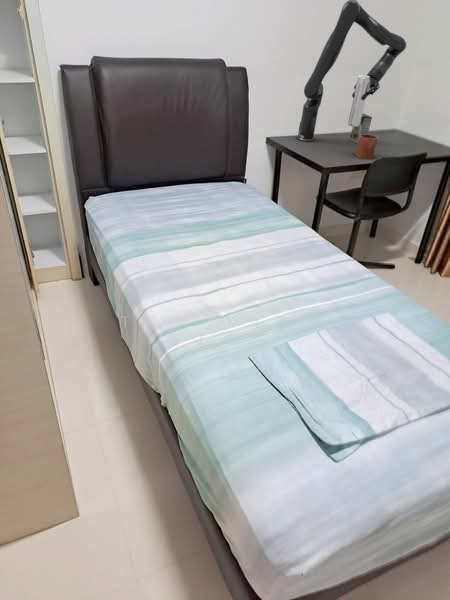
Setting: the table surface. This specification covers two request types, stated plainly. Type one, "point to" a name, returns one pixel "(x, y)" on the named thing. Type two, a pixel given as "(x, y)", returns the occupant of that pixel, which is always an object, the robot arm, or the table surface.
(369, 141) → the cup
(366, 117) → the coffee box
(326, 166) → the table surface
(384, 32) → the robot arm
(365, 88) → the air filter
